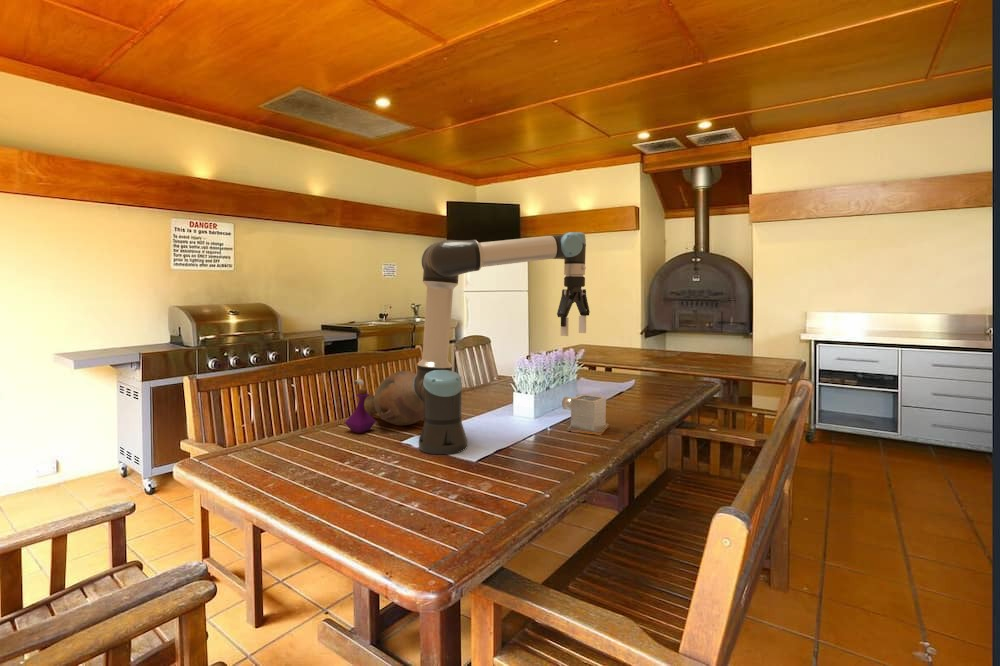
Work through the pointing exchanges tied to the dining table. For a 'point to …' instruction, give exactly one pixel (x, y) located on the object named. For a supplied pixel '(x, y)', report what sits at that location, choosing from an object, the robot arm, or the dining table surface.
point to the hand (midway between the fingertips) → (573, 334)
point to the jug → (396, 400)
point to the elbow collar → (586, 411)
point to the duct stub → (589, 430)
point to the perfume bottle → (360, 413)
